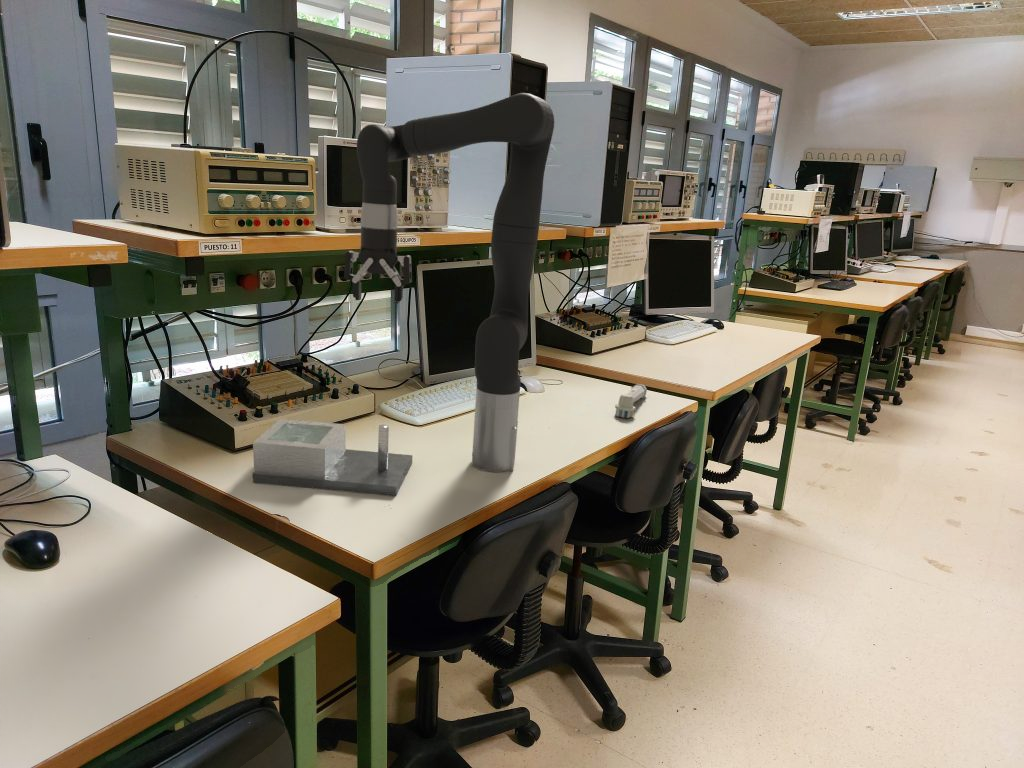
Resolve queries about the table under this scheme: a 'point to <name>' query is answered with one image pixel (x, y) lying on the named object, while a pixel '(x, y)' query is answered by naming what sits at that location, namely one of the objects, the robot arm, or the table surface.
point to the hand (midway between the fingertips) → (377, 301)
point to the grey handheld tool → (630, 401)
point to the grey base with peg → (354, 472)
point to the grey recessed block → (299, 448)
